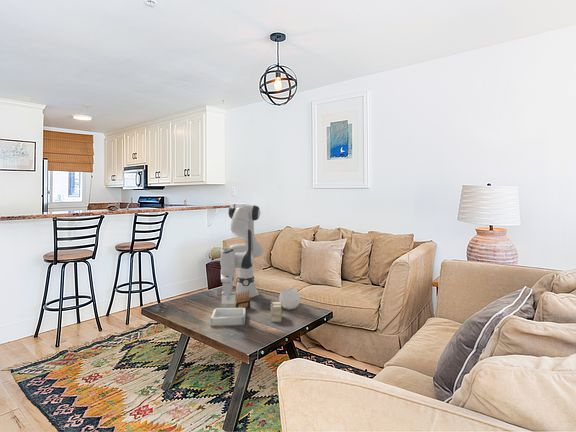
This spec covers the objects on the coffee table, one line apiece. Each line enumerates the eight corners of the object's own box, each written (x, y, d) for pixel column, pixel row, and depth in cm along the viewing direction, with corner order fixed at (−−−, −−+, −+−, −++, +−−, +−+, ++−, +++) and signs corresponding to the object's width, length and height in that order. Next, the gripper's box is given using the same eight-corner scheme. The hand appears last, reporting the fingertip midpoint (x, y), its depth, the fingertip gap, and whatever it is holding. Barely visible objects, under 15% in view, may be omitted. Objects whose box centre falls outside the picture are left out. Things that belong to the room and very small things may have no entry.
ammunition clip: (236, 310, 227) (235, 292, 226) (234, 310, 229) (234, 292, 228) (250, 307, 233) (250, 290, 233) (248, 306, 235) (248, 289, 234)
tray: (214, 315, 219) (214, 308, 218) (245, 314, 220) (245, 307, 220) (210, 326, 201) (210, 318, 201) (244, 325, 203) (244, 317, 202)
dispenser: (270, 316, 217) (270, 300, 216) (280, 316, 217) (280, 300, 217) (271, 321, 208) (270, 305, 207) (281, 321, 208) (281, 305, 208)
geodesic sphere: (285, 294, 243) (280, 281, 234) (304, 296, 239) (300, 282, 230) (279, 312, 233) (274, 299, 224) (299, 314, 228) (295, 301, 219)
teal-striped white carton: (222, 302, 211) (222, 291, 211) (235, 302, 212) (235, 290, 211) (221, 304, 208) (221, 292, 207) (235, 303, 208) (235, 292, 208)
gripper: (224, 272, 219) (225, 294, 220) (220, 280, 198) (221, 304, 199) (234, 272, 219) (235, 293, 220) (232, 280, 199) (232, 304, 200)
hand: (228, 298), depth 210 cm, fingers closed on teal-striped white carton, 3 cm apart
